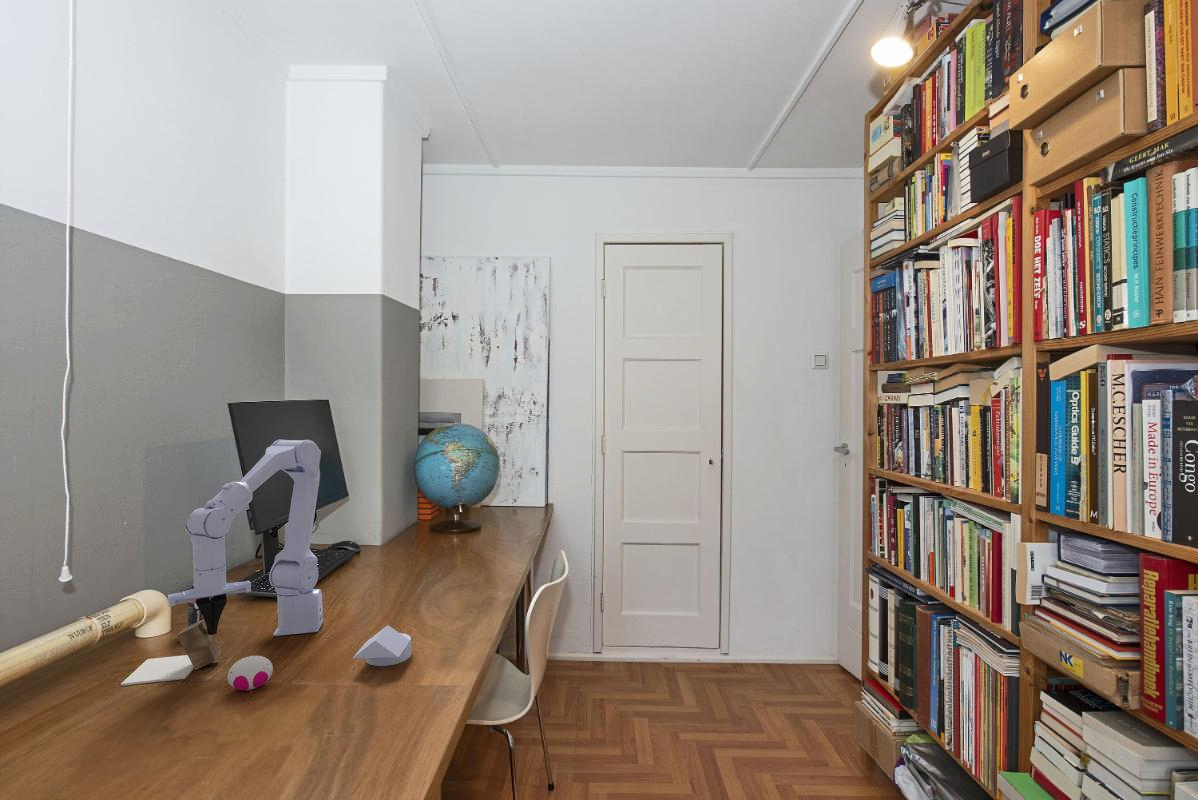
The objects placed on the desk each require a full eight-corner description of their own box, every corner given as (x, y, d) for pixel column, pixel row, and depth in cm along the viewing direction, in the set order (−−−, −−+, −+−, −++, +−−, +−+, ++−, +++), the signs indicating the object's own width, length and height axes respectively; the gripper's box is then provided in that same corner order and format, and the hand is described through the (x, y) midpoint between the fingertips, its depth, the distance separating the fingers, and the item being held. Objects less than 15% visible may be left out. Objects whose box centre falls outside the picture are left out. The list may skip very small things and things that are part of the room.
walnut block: (221, 652, 140) (204, 619, 139) (215, 660, 136) (197, 625, 135) (202, 662, 139) (184, 628, 138) (195, 670, 135) (176, 635, 134)
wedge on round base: (399, 674, 131) (416, 648, 144) (398, 639, 131) (415, 616, 144) (352, 675, 131) (373, 649, 144) (351, 641, 131) (372, 618, 144)
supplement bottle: (204, 636, 153) (202, 587, 153) (182, 635, 154) (180, 586, 154) (223, 627, 159) (222, 579, 159) (202, 626, 160) (200, 578, 160)
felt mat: (206, 654, 143) (206, 653, 142) (185, 678, 131) (185, 676, 131) (147, 660, 140) (147, 659, 140) (120, 685, 128) (120, 683, 128)
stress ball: (229, 713, 123) (225, 692, 120) (229, 675, 129) (226, 654, 125) (275, 702, 126) (273, 681, 123) (273, 666, 132) (271, 645, 129)
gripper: (245, 557, 144) (247, 620, 145) (165, 569, 136) (168, 636, 136) (252, 563, 139) (254, 629, 139) (169, 577, 130) (171, 646, 130)
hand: (212, 633), depth 137 cm, fingers closed
